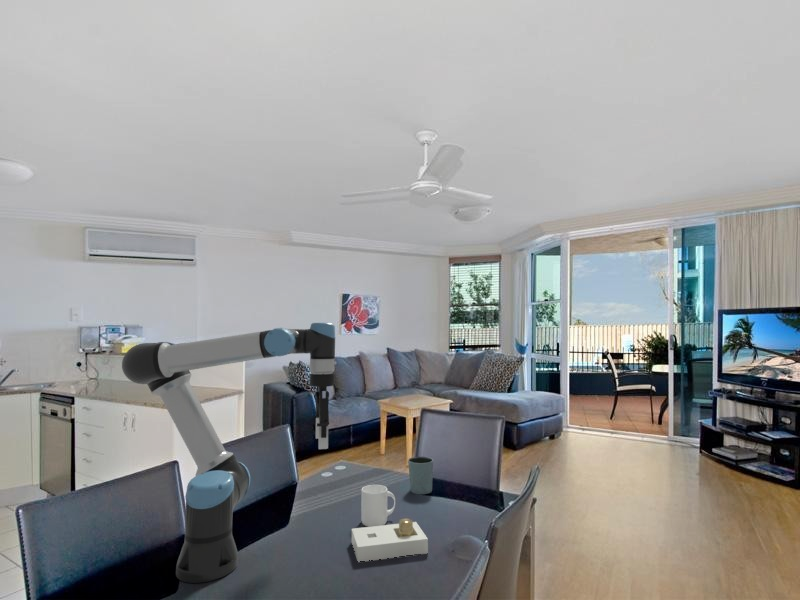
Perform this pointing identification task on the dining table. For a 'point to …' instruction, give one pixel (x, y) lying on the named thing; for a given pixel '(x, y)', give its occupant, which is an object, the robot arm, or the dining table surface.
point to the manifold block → (387, 542)
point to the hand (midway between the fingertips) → (321, 443)
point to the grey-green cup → (420, 474)
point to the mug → (375, 505)
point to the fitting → (405, 527)
